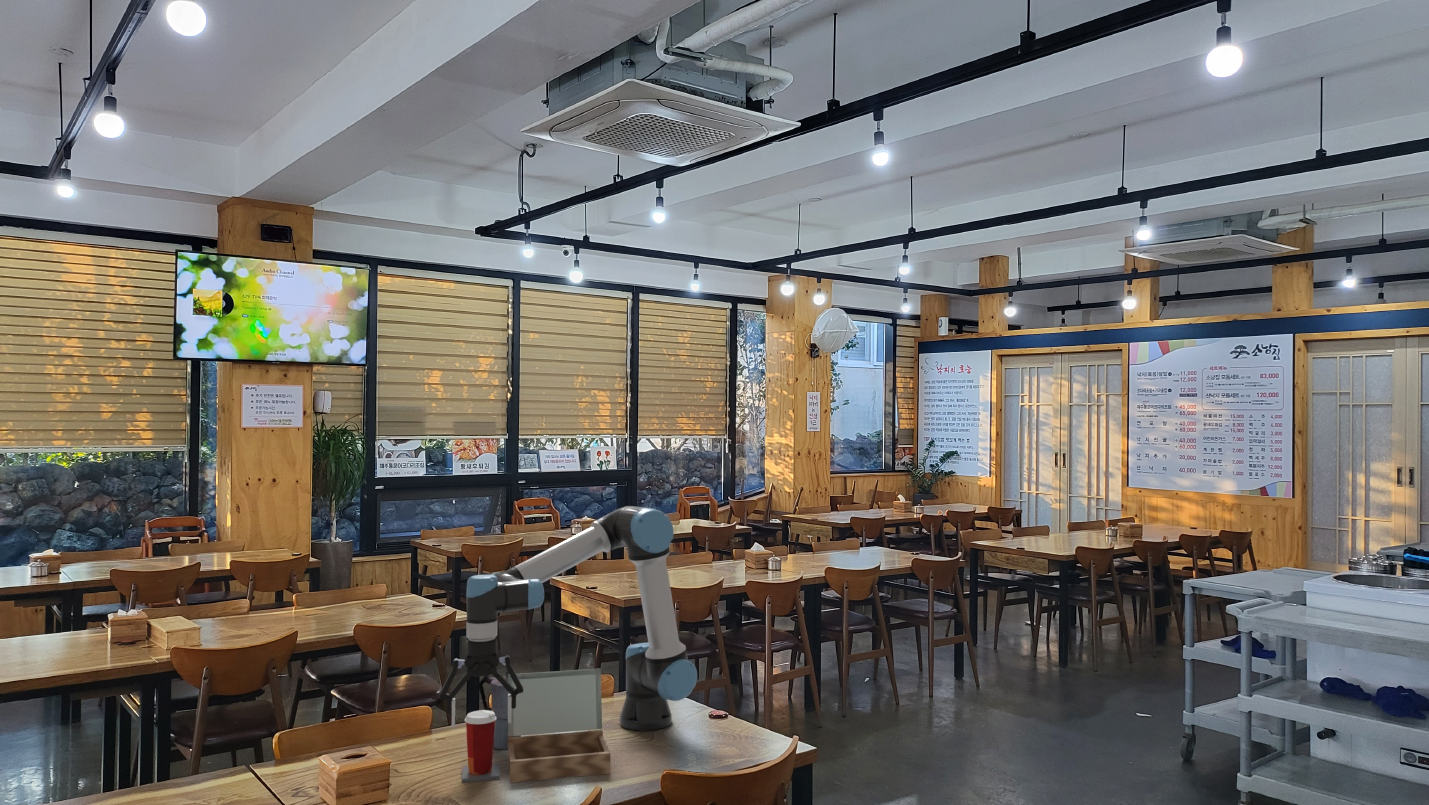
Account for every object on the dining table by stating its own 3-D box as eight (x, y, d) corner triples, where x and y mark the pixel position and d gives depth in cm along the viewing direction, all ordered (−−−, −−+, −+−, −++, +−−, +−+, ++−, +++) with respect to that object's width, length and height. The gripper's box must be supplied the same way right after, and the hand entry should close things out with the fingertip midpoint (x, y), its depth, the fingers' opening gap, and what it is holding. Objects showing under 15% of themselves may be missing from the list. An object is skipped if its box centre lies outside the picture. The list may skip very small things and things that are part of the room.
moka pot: (522, 752, 245) (523, 676, 246) (468, 748, 248) (469, 673, 249) (536, 741, 254) (537, 667, 255) (484, 737, 257) (485, 665, 258)
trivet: (499, 766, 235) (499, 763, 235) (499, 778, 226) (500, 775, 226) (462, 769, 232) (462, 766, 232) (461, 782, 224) (461, 779, 224)
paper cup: (502, 767, 231) (502, 711, 232) (484, 778, 224) (485, 720, 225) (475, 764, 234) (475, 708, 235) (457, 774, 227) (458, 716, 227)
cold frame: (602, 752, 244) (602, 730, 245) (610, 773, 230) (610, 749, 230) (507, 761, 238) (508, 737, 239) (510, 782, 223) (510, 757, 224)
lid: (602, 728, 245) (601, 728, 246) (600, 668, 248) (600, 668, 249) (508, 736, 239) (507, 736, 240) (508, 674, 242) (507, 674, 243)
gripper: (531, 632, 237) (531, 715, 236) (430, 638, 231) (430, 723, 230) (533, 638, 230) (533, 724, 229) (429, 644, 224) (428, 733, 223)
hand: (481, 724), depth 230 cm, fingers open, 13 cm apart
